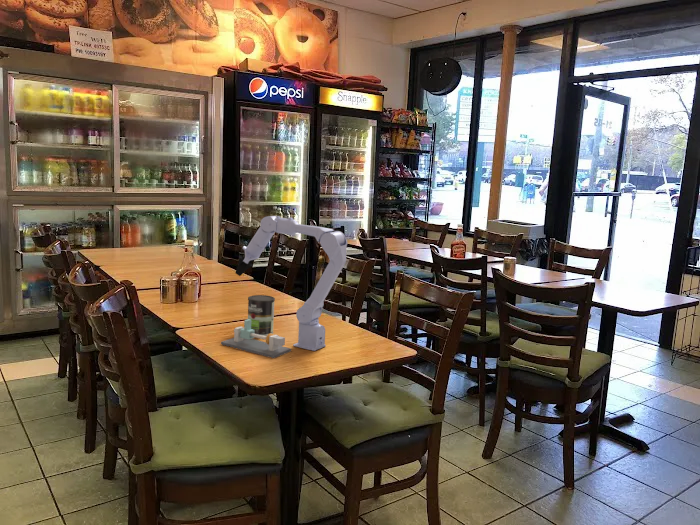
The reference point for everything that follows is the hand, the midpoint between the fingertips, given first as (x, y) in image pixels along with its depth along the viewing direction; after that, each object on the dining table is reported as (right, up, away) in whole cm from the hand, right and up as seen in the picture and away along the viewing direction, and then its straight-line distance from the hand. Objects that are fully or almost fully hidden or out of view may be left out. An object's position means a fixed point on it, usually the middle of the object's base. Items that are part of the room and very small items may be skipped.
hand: (240, 270), depth 212 cm
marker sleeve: (+5, -24, -10) cm, 27 cm away
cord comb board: (+8, -27, -12) cm, 31 cm away
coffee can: (+6, -25, +7) cm, 26 cm away
